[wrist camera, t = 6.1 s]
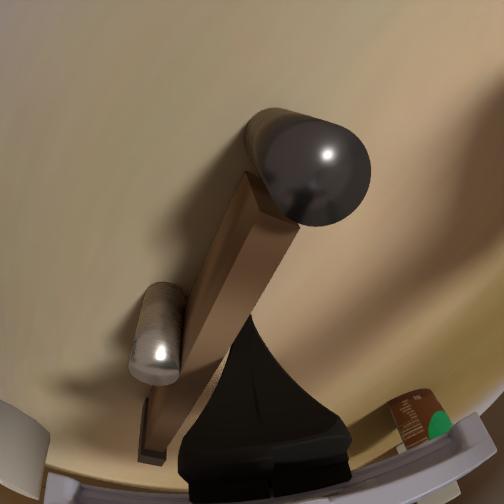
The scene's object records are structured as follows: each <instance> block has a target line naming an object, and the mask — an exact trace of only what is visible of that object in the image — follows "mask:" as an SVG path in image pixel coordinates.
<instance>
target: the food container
mask: <svg viewBox="0 0 504 504" xmlns="http://www.w3.org/2000/svg"><path fill="white" fill-rule="evenodd" d="M387 403H388V406H389V408H390V411H391V413H392V416H393V419H394V421H395V424H396V426H397V429H398V431H399V433H400V436H401V438H402V440H403V443H404V445H405V448H406V450H407V451H408V450H410V449H412V448H415V447H417V446H419V445H421V444H424V443H426V442H428V441H430V440H432V439H434V438H436V437H438V436H440V435H442V434H444V433H446V432H448V431H449V430H450V428H451V427H452V426H453V423H452V422H451V420H450V419H449V417H448V415H447V414H446V412H445V411H444V409H443V408H442V406H441V405H440V403H439V402H438V400H437V398H436V397H435V395H434V394H433V392H432V391H431V390H430V389H418V390H414V391H411V392H408V393H406V394H403V395H401V396H398V397H396V398H394V399H392V400H390V401H388V402H387Z"/></svg>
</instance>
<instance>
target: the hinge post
mask: <svg viewBox="0 0 504 504" xmlns="http://www.w3.org/2000/svg"><path fill="white" fill-rule="evenodd" d="M244 143H245V147H246V149H247V152H248V153H249V155H250V157H251V159H252V161H253V163H254V165H255V167H256V168H257V170H258V172H259V174H260V176H261V178H262V180H263V182H264V184H265V186H266V187H267V189H268V191H269V193H270V195H271V197H272V199H273V201H274V203H275V204H276V206H277V207H278V209H279V210H280V211H281V212H282V213H283V214H284V215H285V216H286V217H288V218H289V219H291V220H292V221H294V222H296V223H299V224H302V225H306V226H314V227H317V226H326V225H330V224H334V223H336V222H338V221H340V220H342V219H344V218H346V217H347V216H348V215H350V214H351V213H352V212H353V211H354V210H355V209H356V208H357V207H358V206H359V205H360V203H361V202H362V200H363V199H364V197H365V195H366V193H367V190H368V187H369V184H370V178H371V164H370V159H369V155H368V153H367V150H366V148H365V147H364V145H363V143H362V142H361V141H360V139H359V138H358V137H357V136H356V135H355V134H354V133H352V132H351V131H349V130H348V129H346V128H344V127H342V126H339V125H337V124H333V123H330V122H327V121H324V120H321V119H318V118H314V117H311V116H307V115H304V114H300V113H297V112H293V111H290V110H286V109H282V108H268V109H265V110H262V111H260V112H258V113H257V114H256V115H254V116H253V117H252V118H251V120H250V121H249V122H248V124H247V126H246V129H245V133H244Z"/></svg>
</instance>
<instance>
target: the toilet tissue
mask: <svg viewBox="0 0 504 504" xmlns="http://www.w3.org/2000/svg"><path fill="white" fill-rule="evenodd" d="M49 443H50V433H49V432H48V431H47V430H46V429H45V428H44V427H43V426H41V425H40V424H39V423H38V422H37V421H36V420H35V419H33V418H32V417H30V416H28V415H27V414H25V413H23V412H22V411H20V410H19V409H17V408H16V407H14V406H13V405H11V404H8V403H6V402H3V401H1V400H0V484H2V485H4V486H5V487H7V488H10V489H12V490H14V491H16V492H18V493H20V494H23V495H25V496H28V497H30V498H33V499H37V500H39V496H40V489H41V482H42V477H43V471H44V466H45V461H46V456H47V452H48V447H49Z"/></svg>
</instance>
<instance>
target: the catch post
mask: <svg viewBox="0 0 504 504" xmlns="http://www.w3.org/2000/svg"><path fill="white" fill-rule="evenodd" d="M184 304H185V297H184V294H183V292H182V291H181V289H180V288H179V287H177V286H176V285H174V284H172V283H168V282H157V283H154V284H152V285H150V286H149V287H148V288H147V290H146V292H145V296H144V300H143V304H142V308H141V312H140V316H139V320H138V324H137V328H136V332H135V336H134V341H133V345H132V350H131V354H130V359H129V364H128V369H129V371H130V373H131V374H132V376H134V377H135V378H136V379H137V380H139V381H141V382H143V383H146V384H149V385H155V386H164V385H169V384H172V383H174V382H175V381H176V380H177V379H178V377H179V370H180V354H181V340H182V327H183V315H184Z"/></svg>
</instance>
